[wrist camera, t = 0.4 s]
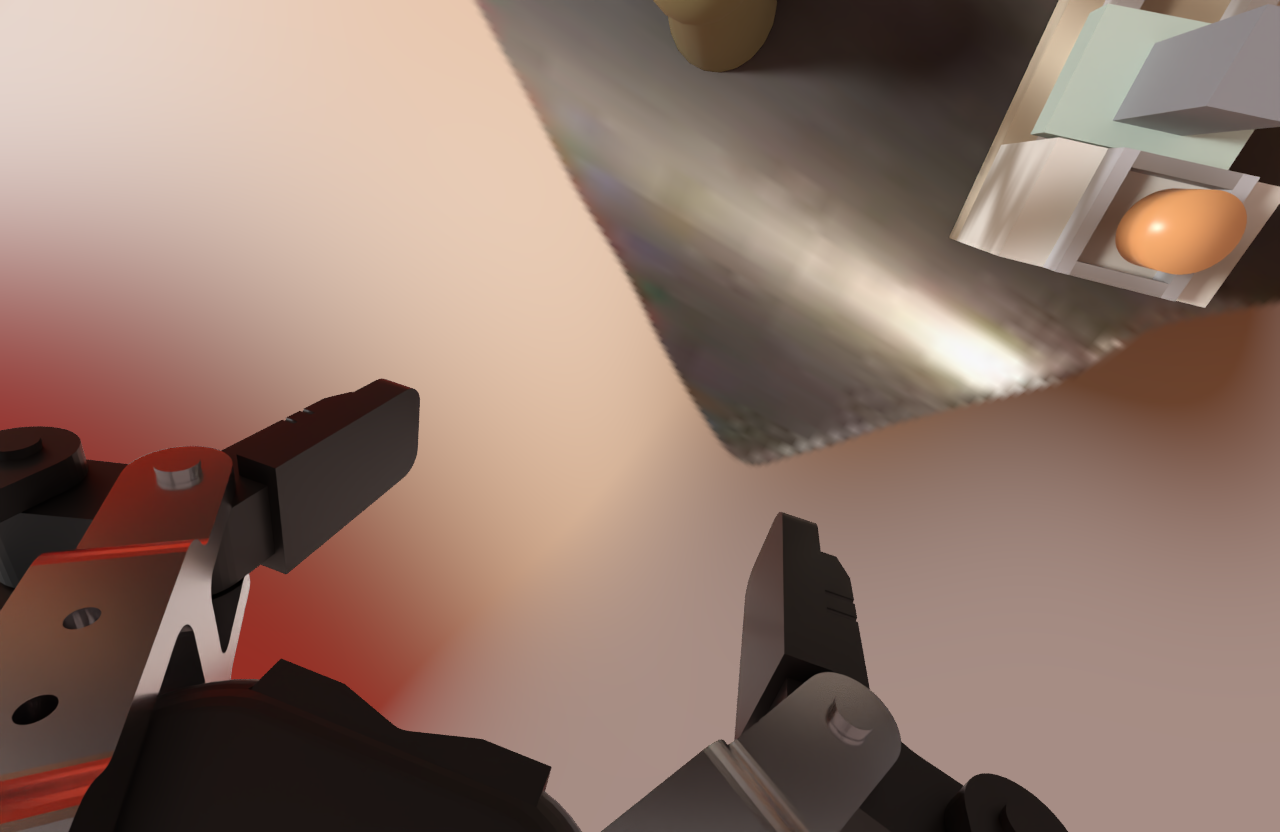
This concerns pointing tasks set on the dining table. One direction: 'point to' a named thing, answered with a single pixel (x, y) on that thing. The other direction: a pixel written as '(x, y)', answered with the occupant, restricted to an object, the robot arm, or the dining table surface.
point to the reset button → (1181, 230)
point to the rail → (1094, 177)
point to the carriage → (1168, 84)
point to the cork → (719, 30)
